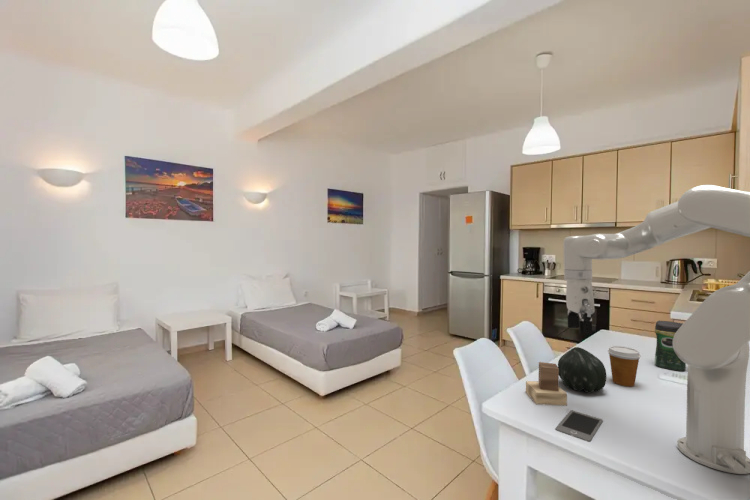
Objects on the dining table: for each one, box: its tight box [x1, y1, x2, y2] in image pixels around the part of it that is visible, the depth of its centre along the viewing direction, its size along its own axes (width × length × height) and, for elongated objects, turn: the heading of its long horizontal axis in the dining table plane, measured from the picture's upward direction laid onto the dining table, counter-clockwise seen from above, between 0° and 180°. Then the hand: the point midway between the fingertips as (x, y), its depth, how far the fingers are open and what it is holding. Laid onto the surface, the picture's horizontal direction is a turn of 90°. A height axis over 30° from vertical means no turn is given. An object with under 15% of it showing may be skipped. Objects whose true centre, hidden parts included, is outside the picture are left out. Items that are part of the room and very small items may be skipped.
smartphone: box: [554, 409, 604, 443], centre depth 93 cm, size 15×8×1 cm, turn 136°
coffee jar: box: [654, 320, 687, 372], centre depth 139 cm, size 10×8×19 cm
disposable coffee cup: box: [607, 345, 641, 388], centre depth 122 cm, size 10×10×12 cm
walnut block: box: [538, 361, 560, 391], centre depth 110 cm, size 5×5×7 cm
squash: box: [557, 346, 607, 393], centre depth 118 cm, size 14×15×15 cm
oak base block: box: [525, 380, 568, 406], centre depth 110 cm, size 9×9×4 cm
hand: (579, 330), depth 106 cm, fingers open, 9 cm apart
